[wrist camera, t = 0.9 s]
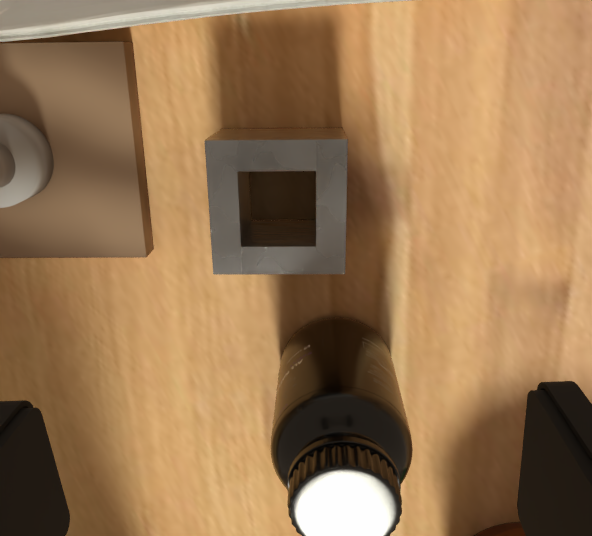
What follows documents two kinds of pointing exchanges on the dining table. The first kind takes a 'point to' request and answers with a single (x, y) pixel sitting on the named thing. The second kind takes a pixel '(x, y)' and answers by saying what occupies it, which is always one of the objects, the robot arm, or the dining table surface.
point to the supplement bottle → (340, 431)
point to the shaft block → (71, 152)
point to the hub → (276, 233)
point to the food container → (504, 530)
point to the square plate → (126, 13)
